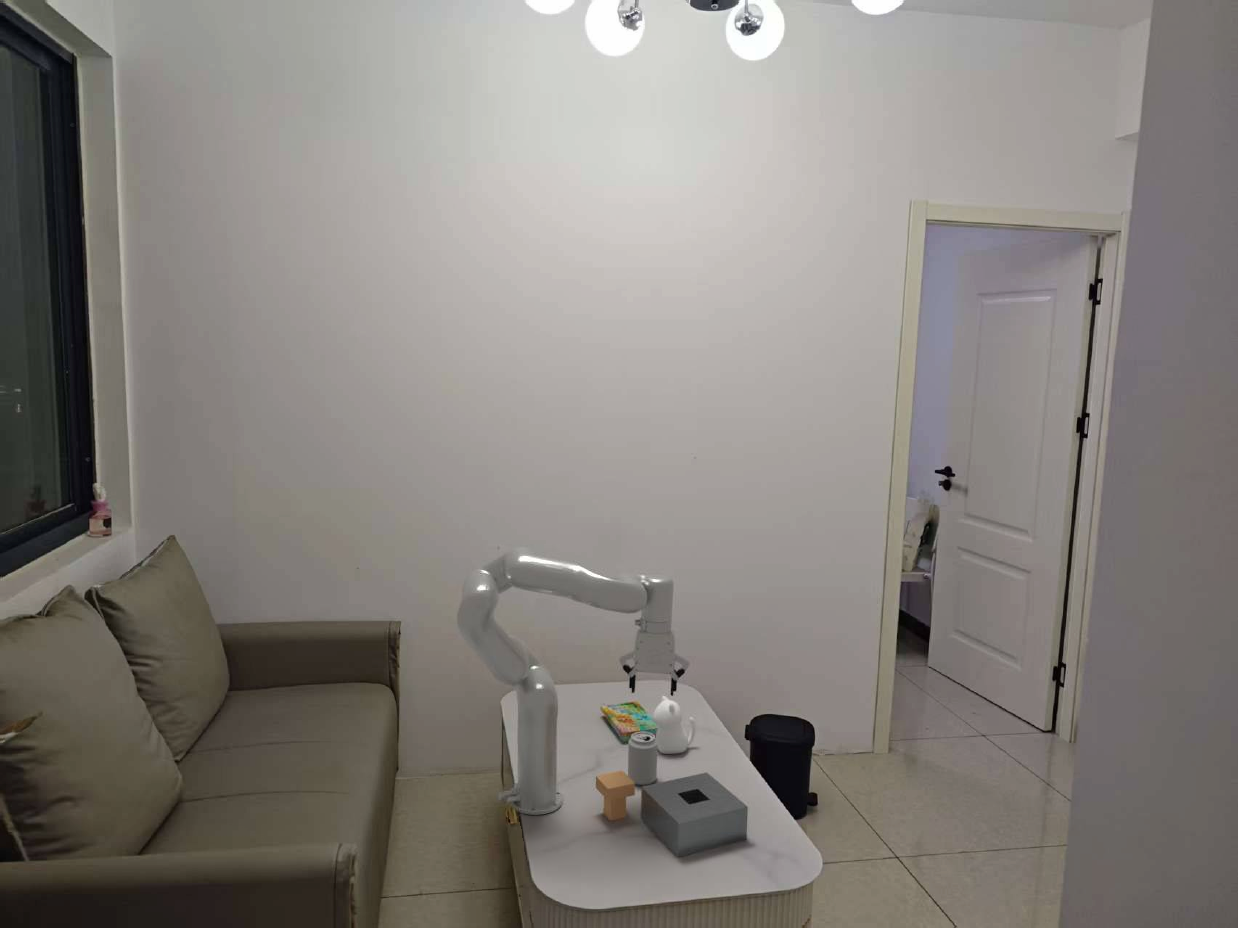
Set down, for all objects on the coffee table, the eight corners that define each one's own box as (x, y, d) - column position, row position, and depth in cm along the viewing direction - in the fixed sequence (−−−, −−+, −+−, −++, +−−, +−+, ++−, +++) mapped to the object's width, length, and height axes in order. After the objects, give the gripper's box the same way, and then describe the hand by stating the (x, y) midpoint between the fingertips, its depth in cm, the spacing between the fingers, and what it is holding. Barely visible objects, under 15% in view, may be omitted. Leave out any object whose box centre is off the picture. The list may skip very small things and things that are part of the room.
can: (654, 788, 227) (655, 743, 225) (625, 784, 228) (626, 740, 227) (658, 774, 234) (659, 731, 232) (630, 771, 235) (631, 728, 234)
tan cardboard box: (607, 825, 209) (608, 788, 208) (595, 811, 215) (595, 775, 214) (634, 818, 212) (634, 783, 211) (621, 805, 218) (622, 770, 217)
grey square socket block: (677, 857, 196) (678, 823, 195) (640, 818, 212) (641, 786, 211) (746, 839, 204) (747, 806, 203) (705, 802, 220) (706, 772, 219)
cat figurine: (647, 746, 251) (647, 695, 249) (688, 739, 255) (688, 689, 253) (659, 760, 242) (659, 707, 240) (701, 753, 247) (701, 701, 244)
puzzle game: (621, 729, 251) (600, 702, 270) (621, 745, 251) (600, 717, 270) (660, 724, 255) (637, 698, 273) (660, 740, 255) (636, 713, 274)
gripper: (619, 627, 215) (616, 695, 217) (691, 632, 214) (687, 700, 216) (622, 618, 223) (618, 684, 225) (691, 623, 221) (687, 689, 224)
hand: (652, 692), depth 220 cm, fingers open, 9 cm apart
